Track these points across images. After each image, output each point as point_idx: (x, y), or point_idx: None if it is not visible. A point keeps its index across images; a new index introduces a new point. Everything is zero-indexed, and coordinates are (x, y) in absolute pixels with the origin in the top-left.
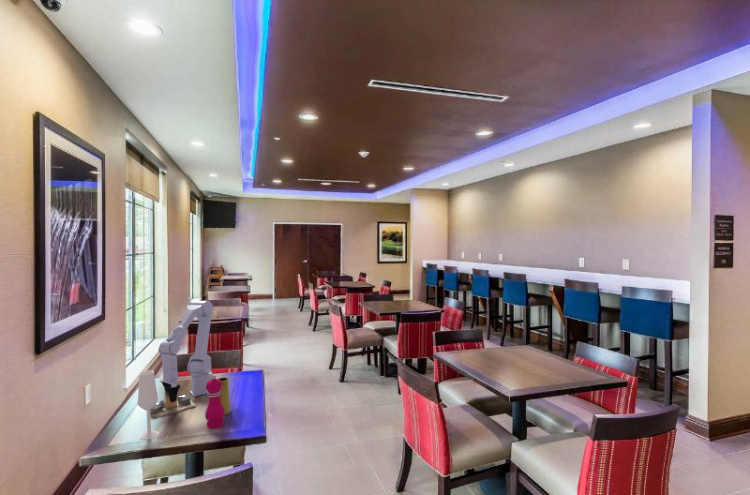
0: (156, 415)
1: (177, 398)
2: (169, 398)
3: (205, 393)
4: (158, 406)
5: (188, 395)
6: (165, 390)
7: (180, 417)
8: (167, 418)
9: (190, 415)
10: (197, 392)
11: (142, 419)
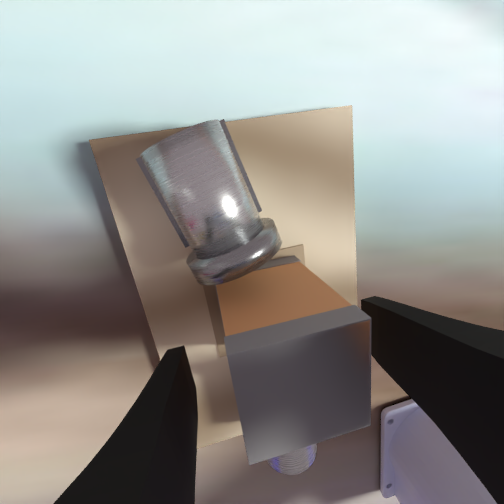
0: (104, 183)
1: None
2: (164, 375)
3: (381, 461)
4: (173, 212)
5: (282, 468)
6: (432, 332)
7: (14, 369)
8: (35, 275)
9: (30, 429)
10: (404, 439)
11: (115, 43)
